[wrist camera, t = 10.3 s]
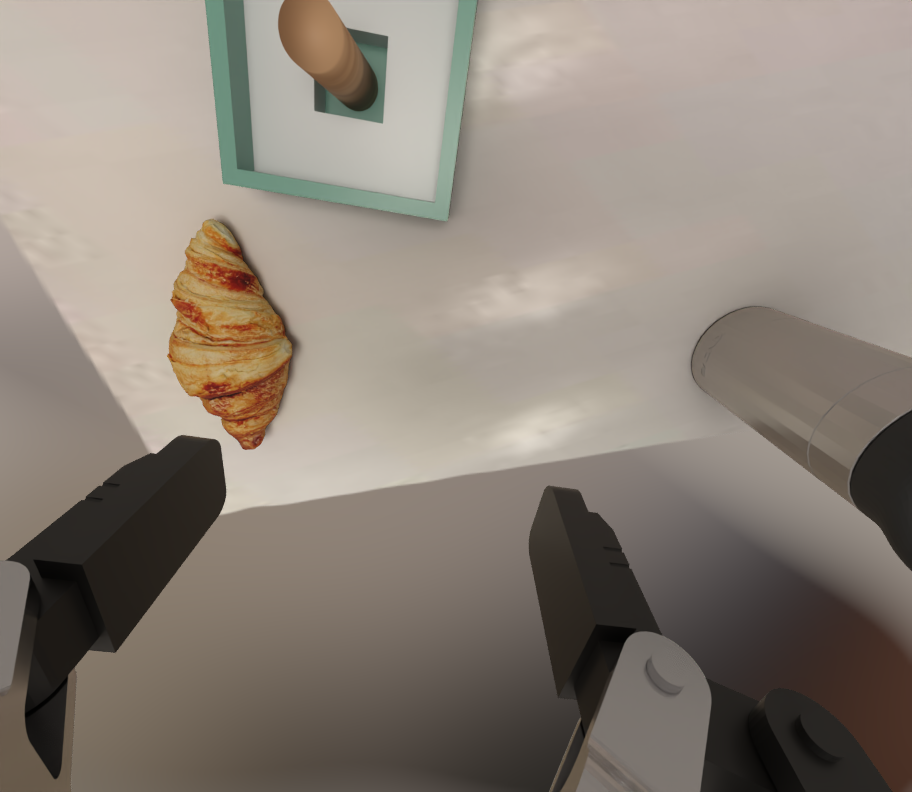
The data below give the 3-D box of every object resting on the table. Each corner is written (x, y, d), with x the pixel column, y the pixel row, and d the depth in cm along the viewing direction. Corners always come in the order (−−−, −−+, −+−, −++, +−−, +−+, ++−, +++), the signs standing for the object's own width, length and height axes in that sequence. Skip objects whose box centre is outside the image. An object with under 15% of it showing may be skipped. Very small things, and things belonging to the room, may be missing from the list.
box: (481, -31, 26) (488, -91, 20) (448, 217, 32) (447, 221, 27) (246, -82, 25) (189, -160, 19) (262, 186, 31) (223, 183, 26)
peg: (379, 62, 27) (342, -4, 18) (376, 114, 28) (341, 76, 20) (335, 54, 27) (276, -18, 18) (334, 107, 28) (279, 64, 19)
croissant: (210, 215, 36) (106, 214, 29) (289, 222, 32) (188, 222, 25) (251, 420, 45) (179, 454, 38) (317, 445, 41) (248, 488, 34)
